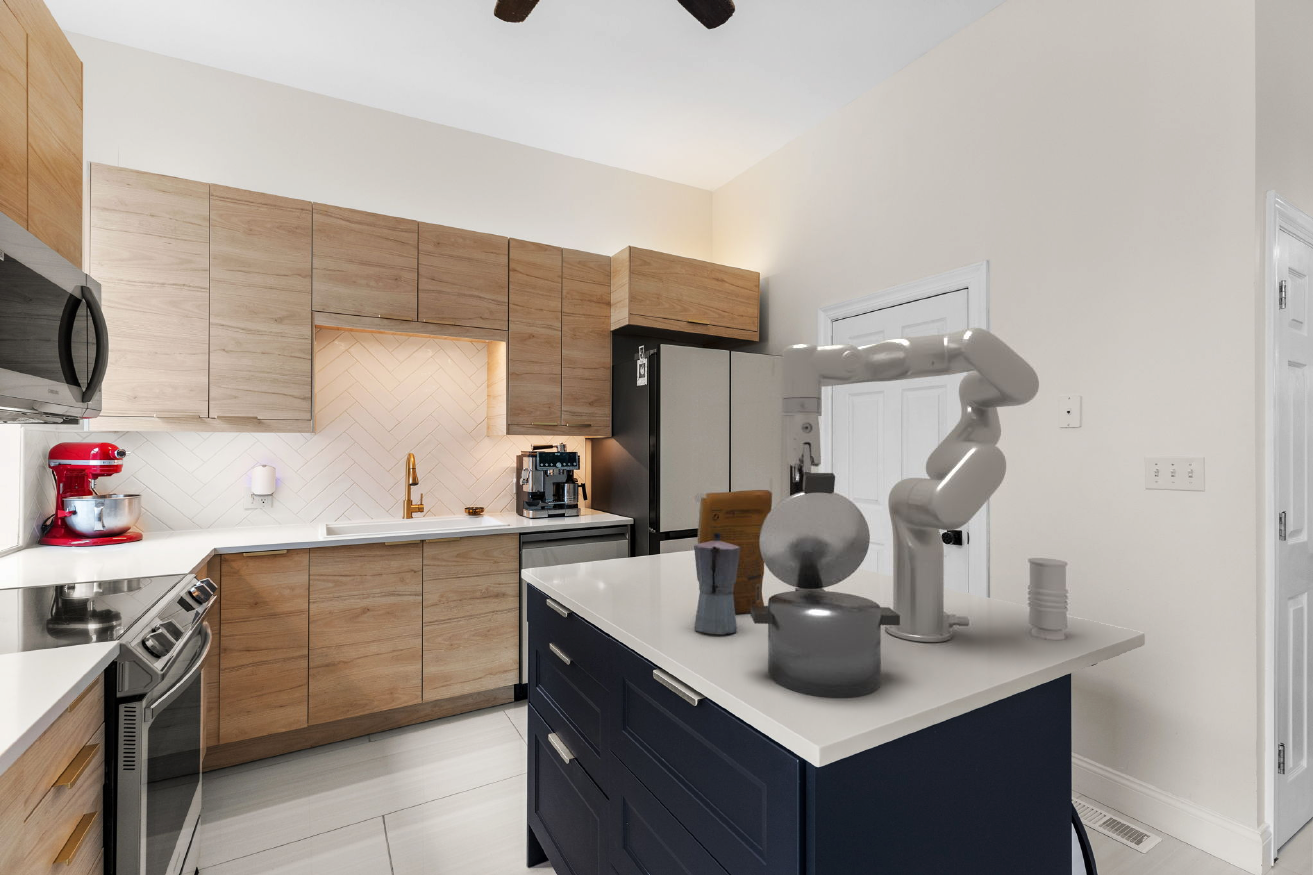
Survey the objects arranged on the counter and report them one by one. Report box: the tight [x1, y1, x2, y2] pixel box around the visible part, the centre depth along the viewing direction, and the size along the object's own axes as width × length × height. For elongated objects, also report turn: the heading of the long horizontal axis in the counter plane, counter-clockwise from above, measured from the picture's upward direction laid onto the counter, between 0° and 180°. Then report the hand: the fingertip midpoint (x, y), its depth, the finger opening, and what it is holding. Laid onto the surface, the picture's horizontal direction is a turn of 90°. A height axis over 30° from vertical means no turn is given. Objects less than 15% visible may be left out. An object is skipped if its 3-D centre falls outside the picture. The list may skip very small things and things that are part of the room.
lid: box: [759, 472, 871, 589], centre depth 110 cm, size 22×19×4 cm
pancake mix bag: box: [697, 489, 773, 615], centre depth 141 cm, size 7×19×28 cm, turn 107°
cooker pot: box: [750, 587, 900, 699], centre depth 103 cm, size 23×20×12 cm
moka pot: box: [693, 533, 740, 635], centre depth 127 cm, size 10×15×20 cm, turn 174°
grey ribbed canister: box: [1027, 557, 1069, 641], centre depth 125 cm, size 7×7×15 cm
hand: (801, 502), depth 120 cm, fingers closed
